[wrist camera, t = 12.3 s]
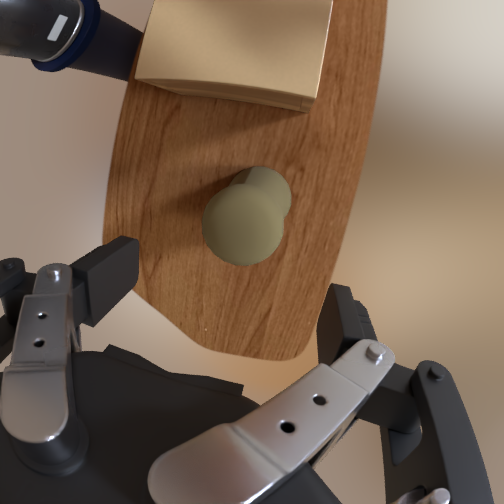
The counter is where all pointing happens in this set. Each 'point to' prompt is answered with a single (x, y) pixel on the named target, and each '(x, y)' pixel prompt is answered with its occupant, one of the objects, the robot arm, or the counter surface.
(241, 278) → the counter surface
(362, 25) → the counter surface
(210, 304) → the counter surface
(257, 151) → the counter surface
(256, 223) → the cork
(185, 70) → the cabinet
